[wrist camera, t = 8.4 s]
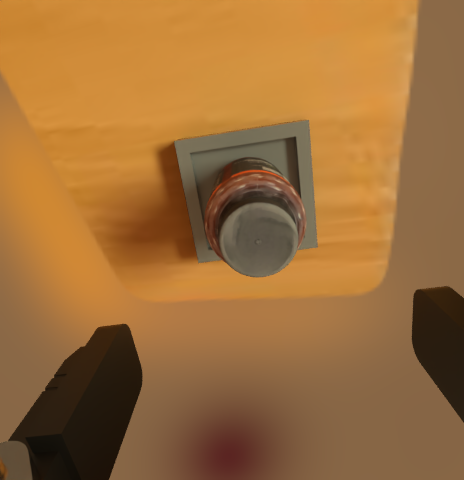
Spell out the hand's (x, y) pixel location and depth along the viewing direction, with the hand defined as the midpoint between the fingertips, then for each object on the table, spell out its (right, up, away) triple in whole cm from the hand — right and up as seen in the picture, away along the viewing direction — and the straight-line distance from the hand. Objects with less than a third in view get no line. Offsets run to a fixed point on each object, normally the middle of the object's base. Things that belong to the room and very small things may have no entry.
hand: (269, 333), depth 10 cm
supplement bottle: (0, +6, +18) cm, 19 cm away
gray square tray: (0, +7, +19) cm, 20 cm away
